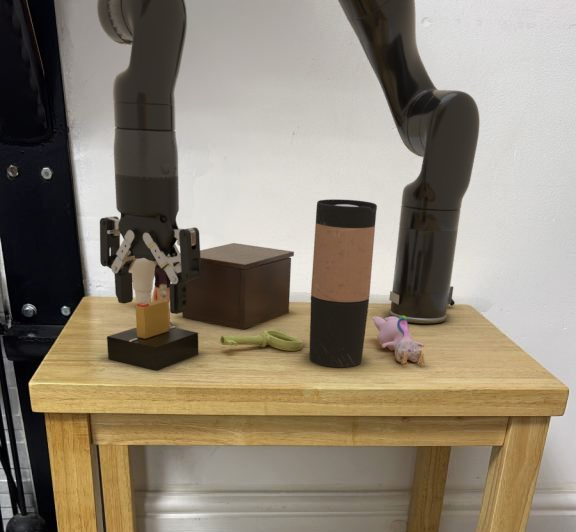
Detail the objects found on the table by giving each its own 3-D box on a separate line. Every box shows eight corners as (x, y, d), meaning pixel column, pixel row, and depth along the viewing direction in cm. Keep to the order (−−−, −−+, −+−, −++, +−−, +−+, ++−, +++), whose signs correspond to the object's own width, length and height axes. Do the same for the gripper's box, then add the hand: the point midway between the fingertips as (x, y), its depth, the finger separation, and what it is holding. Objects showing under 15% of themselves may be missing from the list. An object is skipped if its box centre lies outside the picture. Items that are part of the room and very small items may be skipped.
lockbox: (230, 302, 133) (230, 248, 129) (288, 312, 128) (291, 257, 124) (182, 317, 123) (181, 259, 119) (244, 329, 118) (245, 269, 114)
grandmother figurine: (145, 322, 119) (142, 235, 113) (170, 321, 120) (168, 235, 114) (154, 335, 113) (151, 244, 107) (180, 334, 114) (178, 244, 108)
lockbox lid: (233, 247, 130) (233, 242, 129) (293, 256, 125) (294, 251, 125) (181, 259, 119) (181, 254, 118) (245, 269, 114) (245, 264, 113)
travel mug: (299, 353, 108) (306, 199, 99) (349, 350, 110) (361, 199, 101) (320, 370, 102) (331, 206, 92) (373, 366, 104) (388, 206, 95)
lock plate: (152, 343, 109) (151, 321, 108) (199, 354, 106) (198, 331, 104) (107, 359, 102) (106, 335, 100) (156, 370, 98) (155, 346, 97)
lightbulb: (170, 306, 129) (168, 236, 124) (145, 312, 124) (142, 240, 119) (142, 300, 132) (139, 231, 127) (117, 306, 127) (112, 235, 122)
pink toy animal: (432, 375, 106) (398, 329, 118) (441, 334, 103) (405, 290, 114) (389, 376, 105) (359, 329, 116) (396, 335, 101) (364, 291, 113)
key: (216, 351, 107) (216, 336, 106) (275, 336, 115) (276, 321, 114) (255, 363, 103) (255, 347, 102) (313, 346, 111) (314, 332, 110)
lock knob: (160, 329, 105) (159, 297, 103) (169, 331, 104) (168, 298, 102) (136, 337, 101) (135, 304, 99) (145, 338, 100) (143, 305, 98)
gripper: (213, 175, 93) (213, 311, 101) (121, 165, 99) (127, 294, 107) (175, 178, 87) (177, 322, 95) (79, 167, 93) (89, 304, 101)
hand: (151, 307), depth 101 cm, fingers open, 8 cm apart
